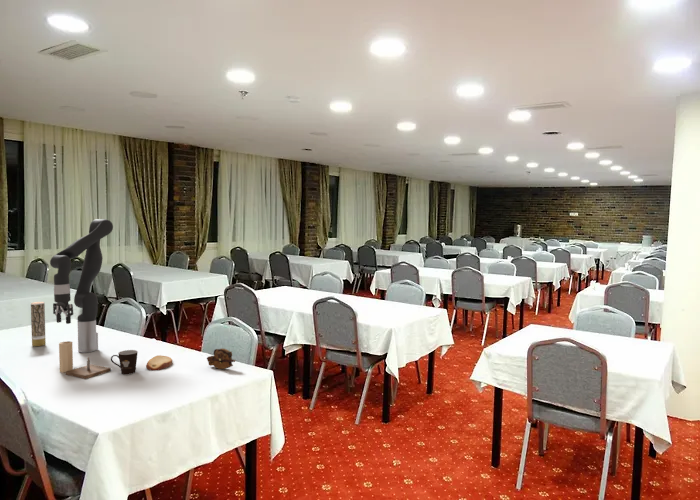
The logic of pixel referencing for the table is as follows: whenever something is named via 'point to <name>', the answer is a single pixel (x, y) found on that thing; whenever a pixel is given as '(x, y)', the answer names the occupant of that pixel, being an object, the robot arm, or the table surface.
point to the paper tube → (38, 323)
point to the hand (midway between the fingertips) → (63, 322)
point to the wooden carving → (221, 359)
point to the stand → (88, 370)
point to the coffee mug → (127, 361)
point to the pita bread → (159, 363)
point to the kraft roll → (65, 356)
